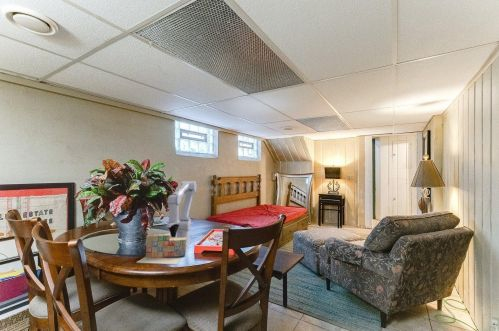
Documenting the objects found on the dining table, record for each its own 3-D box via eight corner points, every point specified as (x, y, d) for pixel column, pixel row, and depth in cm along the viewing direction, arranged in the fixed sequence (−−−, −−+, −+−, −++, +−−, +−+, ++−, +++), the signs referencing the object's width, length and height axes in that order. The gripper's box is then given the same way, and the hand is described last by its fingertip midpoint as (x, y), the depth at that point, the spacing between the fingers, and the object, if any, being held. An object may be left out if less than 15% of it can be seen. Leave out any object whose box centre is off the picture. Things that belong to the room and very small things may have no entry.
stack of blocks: (186, 253, 139) (186, 232, 140) (185, 256, 133) (185, 234, 134) (147, 255, 135) (148, 233, 136) (145, 258, 129) (146, 235, 130)
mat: (144, 257, 131) (144, 256, 131) (182, 259, 129) (182, 258, 129) (136, 262, 123) (136, 262, 124) (175, 264, 121) (175, 264, 121)
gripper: (172, 212, 151) (172, 233, 151) (161, 216, 137) (161, 239, 136) (183, 212, 150) (182, 234, 150) (173, 216, 136) (172, 240, 135)
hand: (173, 236), depth 143 cm, fingers closed
